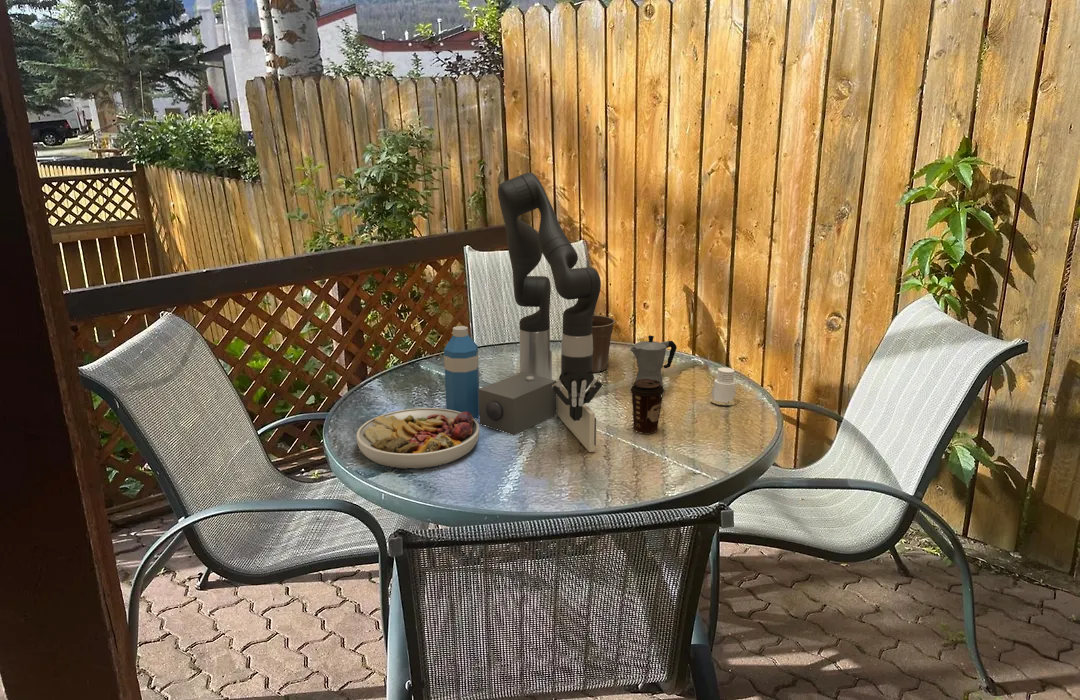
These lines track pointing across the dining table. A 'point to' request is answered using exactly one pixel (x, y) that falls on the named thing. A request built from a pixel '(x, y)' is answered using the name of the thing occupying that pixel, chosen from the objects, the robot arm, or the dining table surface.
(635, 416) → the coffee cup
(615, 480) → the dining table surface
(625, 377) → the dining table surface
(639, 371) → the coffeepot
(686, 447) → the dining table surface
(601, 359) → the plant pot
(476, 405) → the water bottle
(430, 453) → the bowl
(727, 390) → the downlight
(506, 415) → the grey button box
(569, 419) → the case door
